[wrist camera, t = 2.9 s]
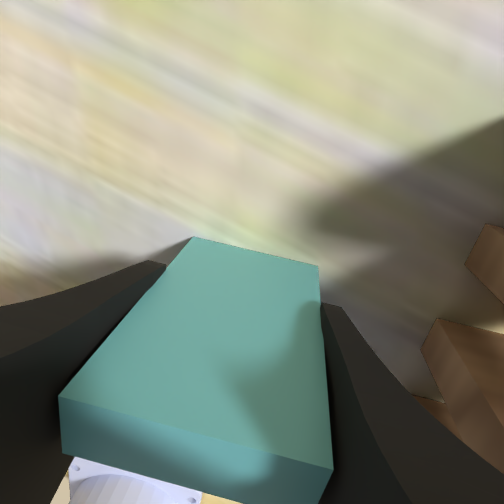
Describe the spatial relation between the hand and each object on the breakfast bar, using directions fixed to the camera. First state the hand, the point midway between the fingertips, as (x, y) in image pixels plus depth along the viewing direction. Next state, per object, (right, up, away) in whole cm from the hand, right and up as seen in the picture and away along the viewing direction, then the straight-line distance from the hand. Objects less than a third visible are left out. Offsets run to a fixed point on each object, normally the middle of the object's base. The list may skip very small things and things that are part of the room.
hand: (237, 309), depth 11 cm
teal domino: (0, +1, +3) cm, 3 cm away
